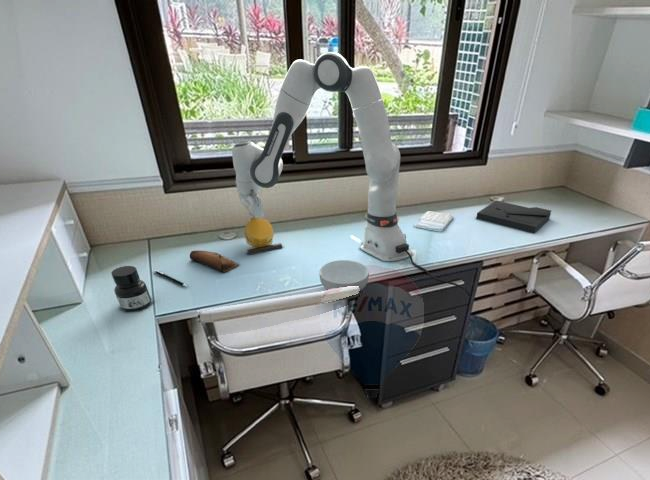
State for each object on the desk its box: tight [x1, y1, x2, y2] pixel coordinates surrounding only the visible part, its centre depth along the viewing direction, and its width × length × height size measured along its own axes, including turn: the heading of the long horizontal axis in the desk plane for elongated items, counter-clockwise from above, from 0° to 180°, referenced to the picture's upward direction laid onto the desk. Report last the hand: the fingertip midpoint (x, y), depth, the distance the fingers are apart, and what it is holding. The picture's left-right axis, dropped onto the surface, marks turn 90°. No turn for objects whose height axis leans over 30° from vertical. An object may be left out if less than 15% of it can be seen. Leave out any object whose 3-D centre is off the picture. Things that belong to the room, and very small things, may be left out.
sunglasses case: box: [189, 250, 239, 273], centre depth 152 cm, size 18×7×7 cm
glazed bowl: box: [243, 218, 275, 249], centre depth 163 cm, size 11×11×6 cm
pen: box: [153, 269, 188, 287], centre depth 142 cm, size 1×19×1 cm, turn 56°
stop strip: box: [246, 242, 283, 255], centre depth 163 cm, size 1×14×2 cm, turn 120°
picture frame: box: [475, 200, 552, 234], centre depth 197 cm, size 23×4×28 cm
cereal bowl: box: [318, 259, 370, 291], centre depth 138 cm, size 17×17×7 cm
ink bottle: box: [111, 265, 152, 312], centre depth 126 cm, size 10×9×12 cm
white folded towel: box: [414, 210, 454, 233], centre depth 191 cm, size 13×20×2 cm, turn 155°
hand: (254, 221), depth 165 cm, fingers closed
